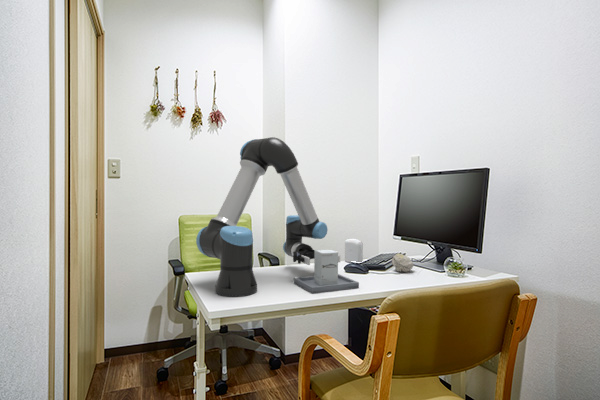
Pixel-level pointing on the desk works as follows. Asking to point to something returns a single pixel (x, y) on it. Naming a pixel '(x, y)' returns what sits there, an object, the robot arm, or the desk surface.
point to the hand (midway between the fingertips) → (324, 260)
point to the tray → (313, 287)
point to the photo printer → (353, 250)
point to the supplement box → (326, 267)
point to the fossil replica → (402, 263)
